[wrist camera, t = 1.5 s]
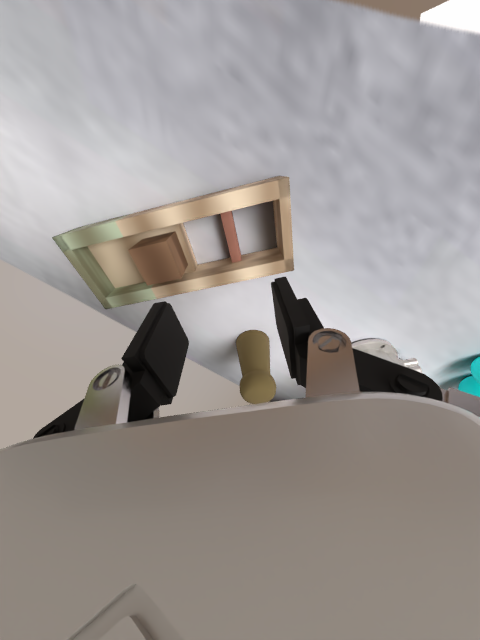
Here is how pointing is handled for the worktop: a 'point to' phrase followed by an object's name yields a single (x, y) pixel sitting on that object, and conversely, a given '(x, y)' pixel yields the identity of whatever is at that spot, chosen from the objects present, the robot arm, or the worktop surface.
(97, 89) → the worktop surface
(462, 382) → the donuts
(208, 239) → the worktop surface
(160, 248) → the block
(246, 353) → the cork
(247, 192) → the box
